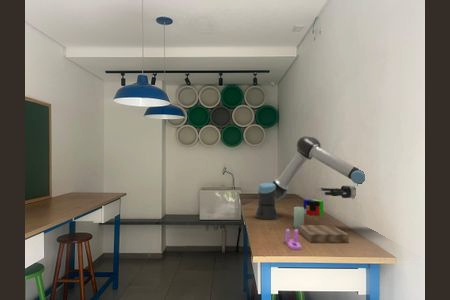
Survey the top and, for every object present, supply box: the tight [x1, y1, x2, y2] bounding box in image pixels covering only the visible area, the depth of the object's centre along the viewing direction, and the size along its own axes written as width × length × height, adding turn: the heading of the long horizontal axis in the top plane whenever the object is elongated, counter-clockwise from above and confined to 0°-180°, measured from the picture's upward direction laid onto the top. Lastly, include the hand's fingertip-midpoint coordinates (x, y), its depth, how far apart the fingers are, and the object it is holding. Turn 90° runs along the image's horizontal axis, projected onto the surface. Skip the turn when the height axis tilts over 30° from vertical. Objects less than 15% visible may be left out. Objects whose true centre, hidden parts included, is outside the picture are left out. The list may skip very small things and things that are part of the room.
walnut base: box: [297, 224, 350, 243], centre depth 163 cm, size 20×20×4 cm
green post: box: [293, 206, 305, 229], centre depth 184 cm, size 6×6×12 cm
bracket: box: [285, 228, 302, 251], centre depth 147 cm, size 13×6×7 cm, turn 179°
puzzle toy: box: [303, 198, 324, 216], centre depth 227 cm, size 10×10×10 cm
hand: (315, 191), depth 185 cm, fingers open, 13 cm apart
